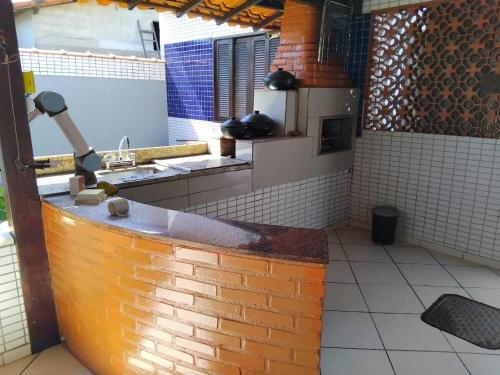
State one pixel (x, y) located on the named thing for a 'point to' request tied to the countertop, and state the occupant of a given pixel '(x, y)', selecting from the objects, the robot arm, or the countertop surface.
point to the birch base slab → (88, 201)
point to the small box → (76, 184)
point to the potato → (107, 188)
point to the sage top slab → (91, 194)
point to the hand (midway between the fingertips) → (59, 163)
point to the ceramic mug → (119, 207)
